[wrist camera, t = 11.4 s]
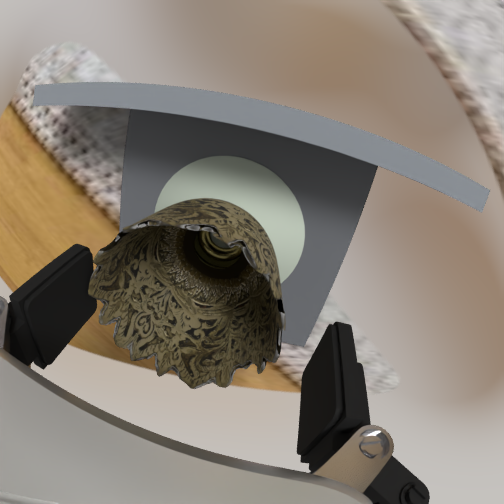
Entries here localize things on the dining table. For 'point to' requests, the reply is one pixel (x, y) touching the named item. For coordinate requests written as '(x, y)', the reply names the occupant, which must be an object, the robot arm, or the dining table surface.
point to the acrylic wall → (269, 127)
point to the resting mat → (254, 195)
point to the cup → (193, 291)
